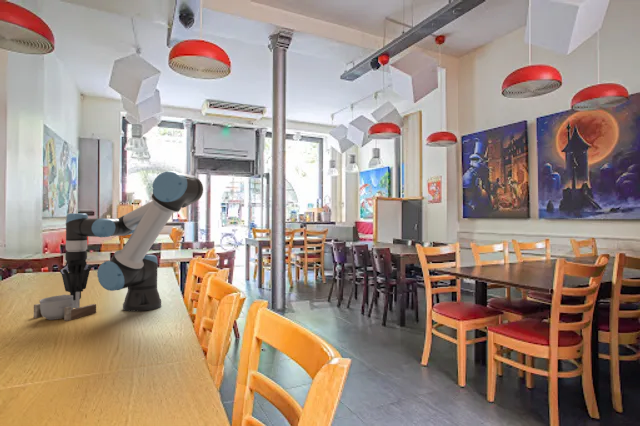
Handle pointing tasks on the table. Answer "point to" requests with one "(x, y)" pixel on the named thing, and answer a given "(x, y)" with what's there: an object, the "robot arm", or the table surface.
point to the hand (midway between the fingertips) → (75, 307)
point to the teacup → (55, 306)
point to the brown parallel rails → (70, 312)
